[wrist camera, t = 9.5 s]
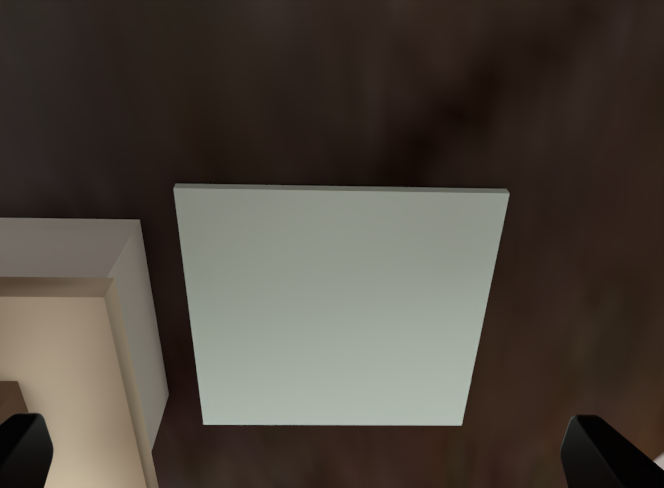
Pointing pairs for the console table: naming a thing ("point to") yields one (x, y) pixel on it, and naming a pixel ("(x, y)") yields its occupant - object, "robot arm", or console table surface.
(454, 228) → the mat
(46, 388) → the lid
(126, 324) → the beige boxy piece
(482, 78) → the console table surface
